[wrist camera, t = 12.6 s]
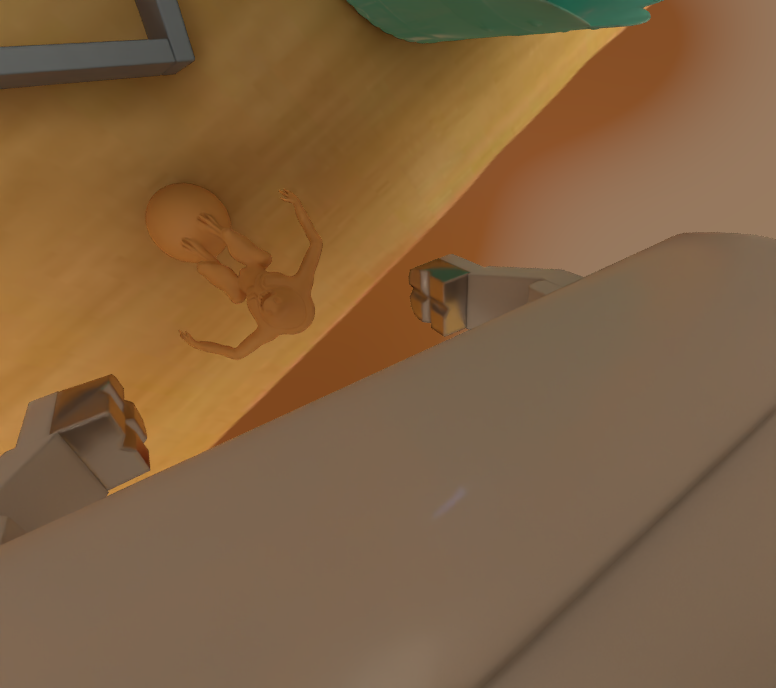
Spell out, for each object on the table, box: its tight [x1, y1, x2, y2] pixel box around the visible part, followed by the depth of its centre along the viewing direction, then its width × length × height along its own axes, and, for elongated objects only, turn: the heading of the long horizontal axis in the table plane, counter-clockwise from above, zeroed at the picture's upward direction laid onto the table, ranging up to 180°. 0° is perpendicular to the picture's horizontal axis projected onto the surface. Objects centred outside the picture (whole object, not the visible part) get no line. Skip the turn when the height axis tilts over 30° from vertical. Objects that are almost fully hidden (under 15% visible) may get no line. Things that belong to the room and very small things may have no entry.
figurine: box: [146, 183, 323, 360], centre depth 18 cm, size 8×6×12 cm
